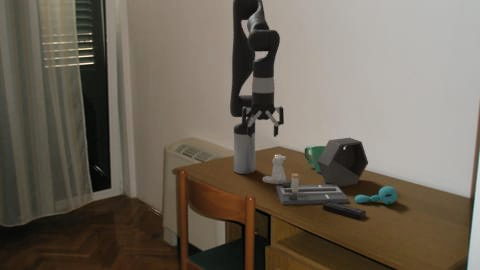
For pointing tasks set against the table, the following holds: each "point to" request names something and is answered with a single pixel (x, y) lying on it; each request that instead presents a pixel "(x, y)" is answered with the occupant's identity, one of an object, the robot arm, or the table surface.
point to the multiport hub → (344, 210)
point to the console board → (310, 194)
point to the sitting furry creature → (276, 171)
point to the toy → (380, 196)
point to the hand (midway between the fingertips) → (262, 136)
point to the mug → (314, 156)
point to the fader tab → (295, 182)
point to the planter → (343, 161)
